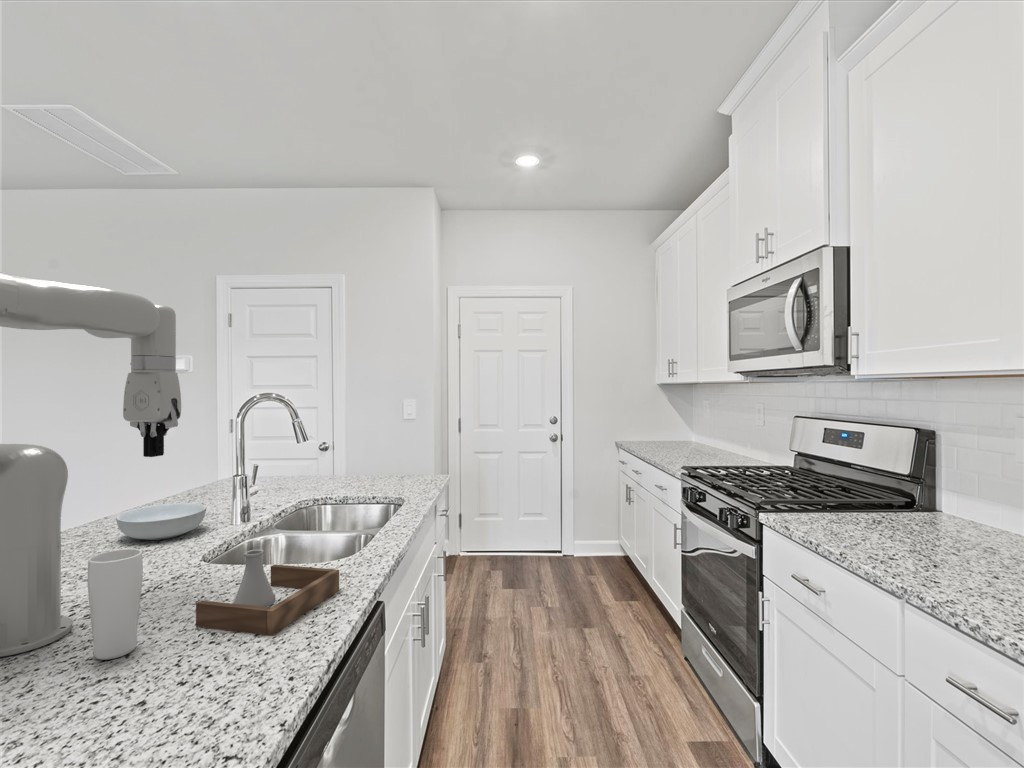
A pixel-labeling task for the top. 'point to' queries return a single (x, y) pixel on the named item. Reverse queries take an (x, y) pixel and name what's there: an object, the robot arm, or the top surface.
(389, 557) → the top surface
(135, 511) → the serving bowl
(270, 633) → the box
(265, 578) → the flask
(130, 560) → the white tall hollow cylinder
